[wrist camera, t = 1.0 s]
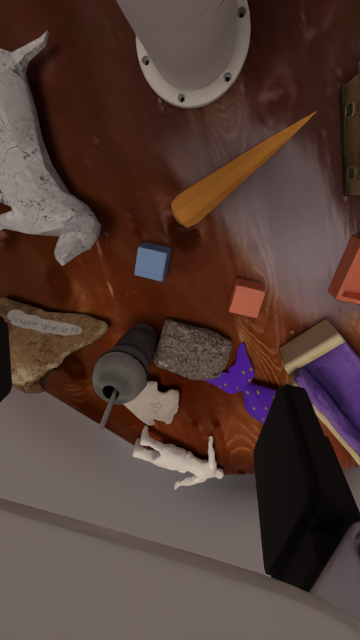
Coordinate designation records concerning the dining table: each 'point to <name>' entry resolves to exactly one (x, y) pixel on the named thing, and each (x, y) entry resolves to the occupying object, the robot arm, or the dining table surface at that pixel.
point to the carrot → (227, 178)
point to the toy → (246, 386)
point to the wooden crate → (351, 134)
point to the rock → (43, 341)
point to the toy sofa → (328, 380)
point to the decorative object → (154, 404)
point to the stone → (192, 351)
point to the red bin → (348, 274)
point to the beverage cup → (124, 367)
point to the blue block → (152, 261)
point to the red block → (246, 297)
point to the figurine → (177, 459)
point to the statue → (35, 167)
